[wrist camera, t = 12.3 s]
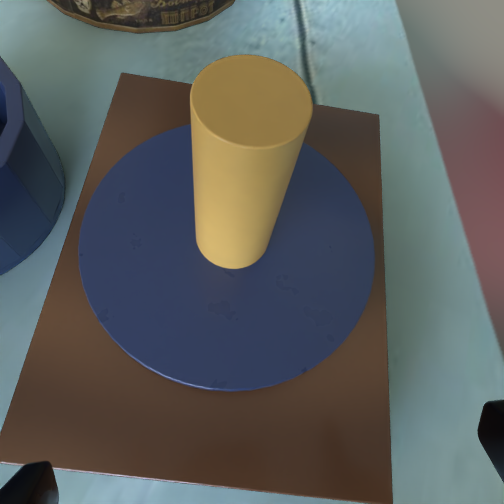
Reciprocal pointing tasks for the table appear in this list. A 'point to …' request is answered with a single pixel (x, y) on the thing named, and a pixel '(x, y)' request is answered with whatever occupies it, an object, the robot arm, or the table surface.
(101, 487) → the table surface
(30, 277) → the table surface
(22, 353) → the table surface
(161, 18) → the brown flat disc
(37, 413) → the block
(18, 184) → the tin
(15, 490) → the robot arm
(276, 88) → the lid
